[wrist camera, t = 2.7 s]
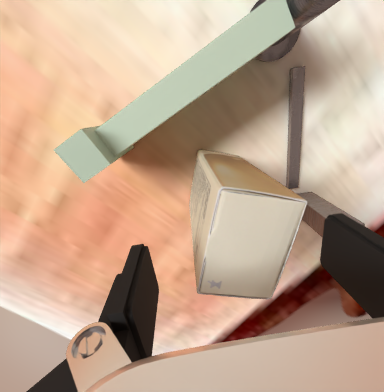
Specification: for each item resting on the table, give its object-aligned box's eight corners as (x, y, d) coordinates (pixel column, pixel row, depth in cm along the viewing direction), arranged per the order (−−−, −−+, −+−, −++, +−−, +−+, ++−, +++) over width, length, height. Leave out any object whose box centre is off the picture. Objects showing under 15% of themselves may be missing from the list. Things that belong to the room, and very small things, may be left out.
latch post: (322, 64, 18) (402, 36, 11) (310, 208, 23) (360, 245, 17) (290, 69, 18) (352, 43, 11) (285, 211, 23) (326, 250, 17)
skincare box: (226, 210, 23) (271, 306, 11) (187, 205, 22) (194, 300, 11) (240, 152, 20) (315, 200, 9) (197, 145, 20) (219, 187, 9)
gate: (248, 24, 16) (294, -35, 10) (262, 56, 17) (312, 21, 10) (97, 137, 19) (53, 150, 12) (116, 160, 20) (83, 183, 13)
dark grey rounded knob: (299, -9, 16) (390, -104, 9) (296, 57, 18) (371, 20, 11) (243, 0, 16) (290, -88, 9) (245, 65, 18) (287, 34, 11)
